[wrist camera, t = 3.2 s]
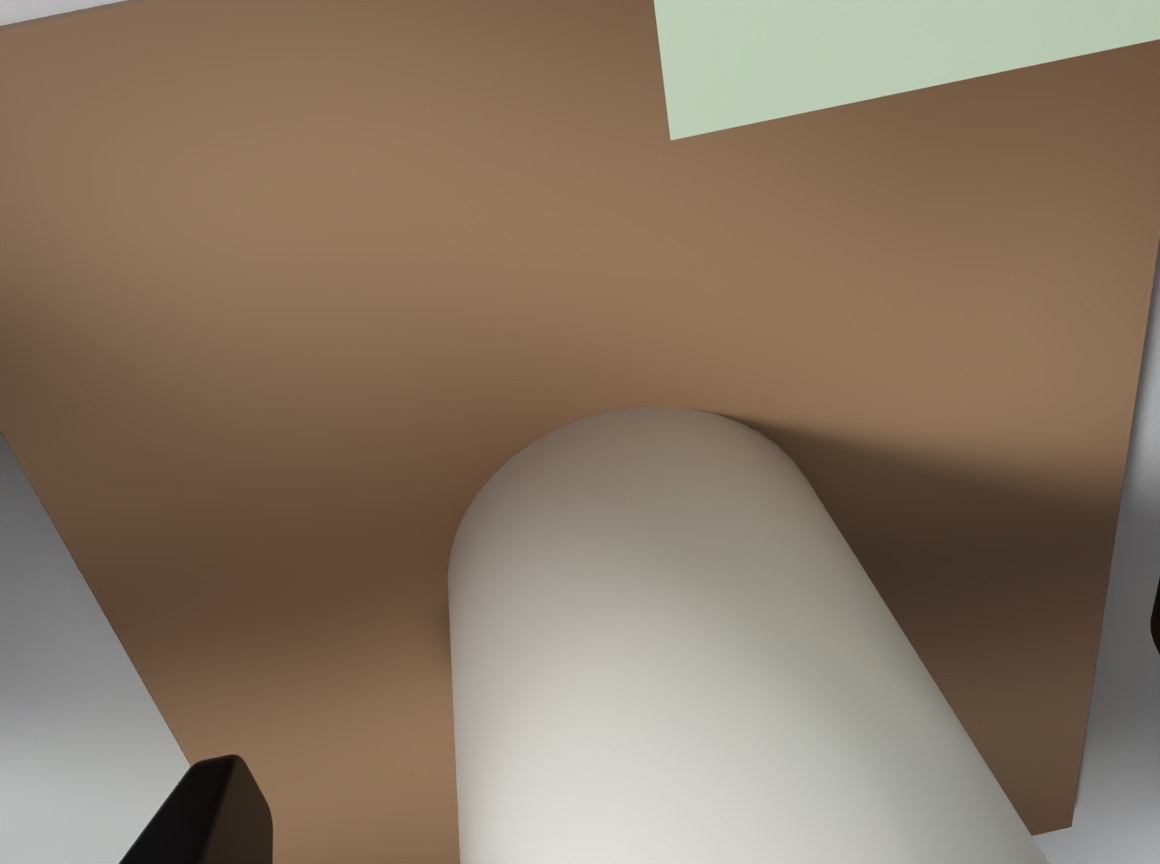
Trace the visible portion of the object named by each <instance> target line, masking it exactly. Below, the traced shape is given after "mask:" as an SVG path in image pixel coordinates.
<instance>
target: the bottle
mask: <svg viewBox="0 0 1160 864" xmlns="http://www.w3.org/2000/svg"><path fill="white" fill-rule="evenodd" d="M448 598H449V621H450V644H451V666H452V689H453V712H454V735H455V758H456V781H457V804H458V827H459V850H460V864H1049V863H1048V861H1047V860H1046V858H1045V856H1044V855H1043V853H1042V852H1041V850H1040V848H1039V847H1038V845H1037V844H1036V842H1035V840H1034V839H1033V837H1032V836H1031V834H1030V833H1029V831H1028V829H1027V828H1026V826H1025V825H1024V823H1023V821H1022V820H1021V818H1020V817H1019V815H1018V813H1017V812H1016V810H1015V809H1014V807H1013V806H1012V804H1011V802H1010V801H1009V799H1008V798H1007V796H1006V794H1005V793H1004V791H1003V790H1002V788H1001V786H1000V785H999V783H998V782H997V780H996V779H995V777H994V775H993V774H992V772H991V771H990V769H989V767H988V766H987V764H986V763H985V761H984V759H983V758H982V756H981V755H980V753H979V752H978V750H977V748H976V747H975V745H974V744H973V742H972V740H971V739H970V737H969V736H968V734H967V732H966V731H965V729H964V728H963V726H962V725H961V723H960V721H959V720H958V718H957V717H956V715H955V713H954V712H953V710H952V709H951V707H950V705H949V704H948V702H947V701H946V699H945V698H944V696H943V694H942V693H941V691H940V690H939V688H938V686H937V685H936V683H935V682H934V680H933V678H932V677H931V675H930V674H929V672H928V671H927V669H926V667H925V666H924V664H923V663H922V661H921V659H920V658H919V656H918V655H917V653H916V651H915V650H914V648H913V647H912V645H911V644H910V642H909V640H908V639H907V637H906V636H905V634H904V632H903V631H902V629H901V628H900V626H899V624H898V623H897V621H896V620H895V618H894V617H893V615H892V613H891V612H890V610H889V609H888V607H887V605H886V604H885V602H884V601H883V599H882V597H881V596H880V594H879V593H878V591H877V590H876V588H875V586H874V585H873V583H872V582H871V580H870V578H869V577H868V575H867V574H866V572H865V570H864V569H863V567H862V566H861V564H860V563H859V561H858V559H857V558H856V556H855V555H854V553H853V551H852V550H851V548H850V547H849V545H848V543H847V542H846V540H845V539H844V537H843V536H842V534H841V532H840V531H839V529H838V528H837V526H836V524H835V523H834V521H833V520H832V518H831V516H830V515H829V513H828V512H827V510H826V509H825V507H824V505H823V504H822V502H821V501H820V499H819V497H818V496H817V494H816V493H815V491H814V489H813V488H812V486H811V485H810V483H809V482H808V480H807V478H806V477H805V475H804V474H803V473H802V471H801V470H800V469H799V467H798V466H797V465H796V463H795V462H794V461H793V459H792V458H791V457H790V456H789V455H788V454H787V453H786V452H785V451H783V450H782V449H781V448H780V447H779V446H778V445H777V444H776V443H774V442H773V441H772V440H770V439H769V438H767V437H766V436H764V435H763V434H762V433H760V432H759V431H757V430H755V429H753V428H751V427H749V426H747V425H745V424H743V423H741V422H739V421H736V420H733V419H730V418H727V417H724V416H721V415H718V414H716V413H711V412H706V411H701V410H696V409H691V408H681V407H668V406H656V407H635V408H629V409H622V410H616V411H610V412H606V413H602V414H599V415H595V416H591V417H587V418H584V419H581V420H579V421H576V422H574V423H571V424H568V425H566V426H563V427H561V428H558V429H556V430H554V431H553V432H551V433H549V434H547V435H545V436H543V437H541V438H539V439H538V440H536V441H534V442H533V443H531V444H530V445H528V446H527V447H526V448H524V449H523V450H521V451H520V452H519V453H517V454H516V455H514V456H513V457H512V458H511V459H510V460H509V461H507V462H506V463H505V464H504V465H503V466H502V467H501V468H500V469H499V470H498V471H497V472H496V473H494V474H493V476H492V477H491V478H490V479H489V480H488V482H487V483H486V484H485V485H484V486H483V488H482V489H481V490H480V491H479V492H478V494H477V495H476V497H475V498H474V500H473V501H472V503H471V505H470V506H469V508H468V509H467V511H466V513H465V514H464V517H463V519H462V521H461V523H460V526H459V528H458V530H457V532H456V535H455V539H454V542H453V546H452V549H451V553H450V559H449V567H448Z"/></svg>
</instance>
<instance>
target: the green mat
mask: <svg viewBox="0 0 1160 864" xmlns="http://www.w3.org/2000/svg"><path fill="white" fill-rule="evenodd" d="M1107 2H1108V3H1107ZM1045 5H1046V6H1045ZM654 6H655V14H656V23H657V31H658V39H659V48H660V56H661V64H662V73H663V81H664V89H665V98H666V106H667V114H668V123H669V131H670V139H671V140H675V139H680V138H685V137H690V136H694V135H699V134H704V133H709V132H714V131H719V130H723V129H728V128H733V127H738V126H743V125H748V124H752V123H757V122H762V121H767V120H772V119H777V118H781V117H786V116H791V115H796V114H801V113H806V112H810V111H815V110H820V109H825V108H830V107H834V106H839V105H844V104H849V103H854V102H859V101H863V100H868V99H873V98H878V97H883V96H888V95H892V94H897V93H902V92H907V91H912V90H917V89H921V88H926V87H931V86H936V85H941V84H945V83H950V82H955V81H960V80H965V79H970V78H974V77H979V76H984V75H989V74H994V73H999V72H1003V71H1008V70H1013V69H1018V68H1023V67H1028V66H1032V65H1037V64H1042V63H1047V62H1052V61H1057V60H1061V59H1066V58H1071V57H1076V56H1081V55H1085V54H1090V53H1095V52H1100V51H1105V50H1110V49H1114V48H1119V47H1124V46H1129V45H1134V44H1139V43H1143V42H1148V41H1153V40H1158V39H1160V0H1025V1H1024V0H885V1H884V0H654ZM1070 6H1071V7H1070ZM1115 6H1116V7H1115ZM1013 8H1014V9H1013ZM746 9H747V10H746ZM1034 10H1035V11H1034ZM1110 10H1111V11H1110ZM1026 12H1027V13H1026ZM1054 12H1055V13H1054ZM1084 13H1085V14H1084ZM987 15H988V16H987ZM1035 16H1036V17H1035ZM1025 17H1026V18H1025ZM1052 17H1053V18H1052ZM1085 19H1086V20H1085ZM842 22H843V23H842ZM812 24H813V25H812ZM770 26H771V27H770ZM1094 26H1095V27H1094ZM844 31H845V32H844ZM1071 34H1072V35H1071ZM1078 35H1079V36H1078ZM1067 40H1068V41H1067ZM1094 40H1095V41H1094ZM1028 43H1029V44H1028ZM969 46H970V47H969ZM1068 54H1069V55H1068ZM1024 63H1025V64H1024Z"/></svg>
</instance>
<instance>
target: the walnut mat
mask: <svg viewBox="0 0 1160 864" xmlns="http://www.w3.org/2000/svg"><path fill="white" fill-rule="evenodd" d="M884 1H885V0H884ZM1024 1H1025V0H1024ZM1107 3H1108V2H1107ZM1045 6H1046V5H1045ZM1070 7H1071V6H1070ZM1115 7H1116V6H1115ZM1013 9H1014V8H1013ZM746 10H747V9H746ZM1034 11H1035V10H1034ZM1110 11H1111V10H1110ZM1026 13H1027V12H1026ZM1054 13H1055V12H1054ZM1084 14H1085V13H1084ZM987 16H988V15H987ZM1035 17H1036V16H1035ZM1025 18H1026V17H1025ZM1052 18H1053V17H1052ZM1085 20H1086V19H1085ZM842 23H843V22H842ZM812 25H813V24H812ZM770 27H771V26H770ZM1094 27H1095V26H1094ZM844 32H845V31H844ZM1071 35H1072V34H1071ZM1078 36H1079V35H1078ZM1067 41H1068V40H1067ZM1094 41H1095V40H1094ZM1028 44H1029V43H1028ZM969 47H970V46H969ZM1068 55H1069V54H1068ZM1024 64H1025V63H1024ZM1159 241H1160V39H1158V40H1153V41H1148V42H1143V43H1139V44H1134V45H1129V46H1124V47H1119V48H1114V49H1110V50H1105V51H1100V52H1095V53H1090V54H1085V55H1081V56H1076V57H1071V58H1066V59H1061V60H1057V61H1052V62H1047V63H1042V64H1037V65H1032V66H1028V67H1023V68H1018V69H1013V70H1008V71H1003V72H999V73H994V74H989V75H984V76H979V77H974V78H970V79H965V80H960V81H955V82H950V83H945V84H941V85H936V86H931V87H926V88H921V89H917V90H912V91H907V92H902V93H897V94H892V95H888V96H883V97H878V98H873V99H868V100H863V101H859V102H854V103H849V104H844V105H839V106H834V107H830V108H825V109H820V110H815V111H810V112H806V113H801V114H796V115H791V116H786V117H781V118H777V119H772V120H767V121H762V122H757V123H752V124H748V125H743V126H738V127H733V128H728V129H723V130H719V131H714V132H709V133H704V134H699V135H694V136H690V137H685V138H680V139H675V140H671V139H670V131H669V123H668V114H667V106H666V98H665V89H664V81H663V73H662V64H661V56H660V48H659V39H658V31H657V23H656V14H655V6H654V0H127V1H122V2H117V3H112V4H107V5H102V6H98V7H93V8H88V9H83V10H78V11H73V12H68V13H63V14H58V15H53V16H48V17H43V18H38V19H33V20H28V21H23V22H18V23H13V24H8V25H4V26H0V431H1V432H2V434H3V436H4V438H5V439H6V441H7V443H8V445H9V447H10V448H11V450H12V452H13V454H14V455H15V457H16V459H17V461H18V462H19V464H20V466H21V468H22V469H23V471H24V473H25V475H26V477H27V478H28V480H29V482H30V484H31V485H32V487H33V489H34V491H35V492H36V494H37V496H38V498H39V499H40V501H41V503H42V505H43V506H44V508H45V510H46V512H47V514H48V515H49V517H50V519H51V521H52V522H53V524H54V526H55V528H56V529H57V531H58V533H59V535H60V536H61V538H62V540H63V542H64V544H65V545H66V547H67V549H68V551H69V552H70V554H71V556H72V558H73V559H74V561H75V563H76V565H77V566H78V568H79V570H80V572H81V573H82V575H83V577H84V579H85V581H86V582H87V584H88V586H89V588H90V589H91V591H92V593H93V595H94V596H95V598H96V600H97V602H98V603H99V605H100V607H101V609H102V610H103V612H104V614H105V616H106V618H107V619H108V621H109V623H110V625H111V626H112V628H113V630H114V632H115V633H116V635H117V637H118V639H119V640H120V642H121V644H122V646H123V648H124V649H125V651H126V653H127V655H128V656H129V658H130V660H131V662H132V663H133V665H134V667H135V669H136V670H137V672H138V674H139V676H140V677H141V679H142V681H143V683H144V685H145V686H146V688H147V690H148V692H149V693H150V695H151V697H152V699H153V700H154V702H155V704H156V706H157V707H158V709H159V711H160V713H161V715H162V716H163V718H164V720H165V722H166V723H167V725H168V727H169V729H170V730H171V732H172V734H173V736H174V737H175V739H176V741H177V743H178V744H179V746H180V748H181V750H182V752H183V753H184V755H185V757H186V759H187V760H188V762H189V764H190V766H191V767H192V766H193V765H194V764H195V763H197V762H198V761H201V760H205V759H210V758H215V757H220V756H225V755H230V754H236V755H239V756H240V757H242V758H243V760H244V761H245V762H246V764H247V766H248V768H249V769H250V771H251V773H252V775H253V777H254V779H255V781H256V782H257V784H258V786H259V788H260V790H261V792H262V793H263V795H264V797H265V799H266V801H267V803H268V805H269V808H270V811H271V815H272V821H273V864H460V850H459V827H458V804H457V781H456V758H455V735H454V712H453V689H452V666H451V644H450V621H449V598H448V567H449V559H450V553H451V549H452V546H453V542H454V539H455V535H456V532H457V530H458V528H459V526H460V523H461V521H462V519H463V517H464V514H465V513H466V511H467V509H468V508H469V506H470V505H471V503H472V501H473V500H474V498H475V497H476V495H477V494H478V492H479V491H480V490H481V489H482V488H483V486H484V485H485V484H486V483H487V482H488V480H489V479H490V478H491V477H492V476H493V474H494V473H496V472H497V471H498V470H499V469H500V468H501V467H502V466H503V465H504V464H505V463H506V462H507V461H509V460H510V459H511V458H512V457H513V456H514V455H516V454H517V453H519V452H520V451H521V450H523V449H524V448H526V447H527V446H528V445H530V444H531V443H533V442H534V441H536V440H538V439H539V438H541V437H543V436H545V435H547V434H549V433H551V432H553V431H554V430H556V429H558V428H561V427H563V426H566V425H568V424H571V423H574V422H576V421H579V420H581V419H584V418H587V417H591V416H595V415H599V414H602V413H606V412H610V411H616V410H622V409H629V408H635V407H656V406H668V407H681V408H691V409H696V410H701V411H706V412H711V413H716V414H718V415H721V416H724V417H727V418H730V419H733V420H736V421H739V422H741V423H743V424H745V425H747V426H749V427H751V428H753V429H755V430H757V431H759V432H760V433H762V434H763V435H764V436H766V437H767V438H769V439H770V440H772V441H773V442H774V443H776V444H777V445H778V446H779V447H780V448H781V449H782V450H783V451H785V452H786V453H787V454H788V455H789V456H790V457H791V458H792V459H793V461H794V462H795V463H796V465H797V466H798V467H799V469H800V470H801V471H802V473H803V474H804V475H805V477H806V478H807V480H808V482H809V483H810V485H811V486H812V488H813V489H814V491H815V493H816V494H817V496H818V497H819V499H820V501H821V502H822V504H823V505H824V507H825V509H826V510H827V512H828V513H829V515H830V516H831V518H832V520H833V521H834V523H835V524H836V526H837V528H838V529H839V531H840V532H841V534H842V536H843V537H844V539H845V540H846V542H847V543H848V545H849V547H850V548H851V550H852V551H853V553H854V555H855V556H856V558H857V559H858V561H859V563H860V564H861V566H862V567H863V569H864V570H865V572H866V574H867V575H868V577H869V578H870V580H871V582H872V583H873V585H874V586H875V588H876V590H877V591H878V593H879V594H880V596H881V597H882V599H883V601H884V602H885V604H886V605H887V607H888V609H889V610H890V612H891V613H892V615H893V617H894V618H895V620H896V621H897V623H898V624H899V626H900V628H901V629H902V631H903V632H904V634H905V636H906V637H907V639H908V640H909V642H910V644H911V645H912V647H913V648H914V650H915V651H916V653H917V655H918V656H919V658H920V659H921V661H922V663H923V664H924V666H925V667H926V669H927V671H928V672H929V674H930V675H931V677H932V678H933V680H934V682H935V683H936V685H937V686H938V688H939V690H940V691H941V693H942V694H943V696H944V698H945V699H946V701H947V702H948V704H949V705H950V707H951V709H952V710H953V712H954V713H955V715H956V717H957V718H958V720H959V721H960V723H961V725H962V726H963V728H964V729H965V731H966V732H967V734H968V736H969V737H970V739H971V740H972V742H973V744H974V745H975V747H976V748H977V750H978V752H979V753H980V755H981V756H982V758H983V759H984V761H985V763H986V764H987V766H988V767H989V769H990V771H991V772H992V774H993V775H994V777H995V779H996V780H997V782H998V783H999V785H1000V786H1001V788H1002V790H1003V791H1004V793H1005V794H1006V796H1007V798H1008V799H1009V801H1010V802H1011V804H1012V806H1013V807H1014V809H1015V810H1016V812H1017V813H1018V815H1019V817H1020V818H1021V820H1022V821H1023V823H1024V825H1025V826H1026V828H1027V829H1028V831H1029V833H1030V834H1031V836H1032V835H1037V834H1041V833H1046V832H1050V831H1055V830H1059V829H1064V828H1068V827H1071V826H1072V819H1073V812H1074V806H1075V799H1076V792H1077V786H1078V779H1079V772H1080V766H1081V759H1082V752H1083V746H1084V739H1085V733H1086V726H1087V719H1088V713H1089V706H1090V699H1091V693H1092V686H1093V679H1094V673H1095V666H1096V659H1097V653H1098V646H1099V639H1100V633H1101V626H1102V620H1103V613H1104V606H1105V600H1106V593H1107V586H1108V580H1109V573H1110V566H1111V560H1112V553H1113V546H1114V540H1115V533H1116V526H1117V520H1118V513H1119V506H1120V500H1121V493H1122V487H1123V480H1124V473H1125V467H1126V460H1127V453H1128V447H1129V440H1130V433H1131V427H1132V420H1133V413H1134V407H1135V400H1136V393H1137V387H1138V380H1139V374H1140V367H1141V360H1142V354H1143V347H1144V340H1145V334H1146V327H1147V320H1148V314H1149V307H1150V300H1151V294H1152V287H1153V280H1154V274H1155V267H1156V260H1157V254H1158V247H1159Z"/></svg>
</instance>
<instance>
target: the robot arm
mask: <svg viewBox="0 0 1160 864" xmlns="http://www.w3.org/2000/svg"><path fill="white" fill-rule="evenodd" d="M1151 634H1152V638H1153V641H1154V644H1155V646H1156V648H1157V650H1158V652H1159V654H1160V579H1159V583H1158V588H1157V593H1156V597H1155V602H1154V607H1153V612H1152V616H1151ZM119 864H273V821H272V815H271V811H270V808H269V805H268V803H267V801H266V799H265V797H264V795H263V793H262V792H261V790H260V788H259V786H258V784H257V782H256V781H255V779H254V777H253V775H252V773H251V771H250V769H249V768H248V766H247V764H246V762H245V761H244V760H243V758H242V757H240V756H239V755H236V754H230V755H225V756H220V757H215V758H210V759H205V760H201V761H198V762H197V763H195V764H194V765H193V766H192V767H190V769H189V770H188V771H187V772H186V774H185V775H184V776H183V778H182V779H181V780H180V782H179V783H178V784H177V786H176V787H175V788H174V790H173V791H172V792H171V794H170V795H169V796H168V798H167V799H166V801H165V802H164V803H163V805H162V806H161V807H160V809H159V810H158V811H157V813H156V814H155V815H154V817H153V818H152V819H151V821H150V822H149V823H148V825H147V826H146V828H145V829H144V830H143V832H142V833H141V834H140V836H139V837H138V838H137V840H136V841H135V842H134V844H133V845H132V846H131V848H130V849H129V851H128V852H127V853H126V855H125V856H124V857H123V859H122V860H121V861H120V863H119Z"/></svg>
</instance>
